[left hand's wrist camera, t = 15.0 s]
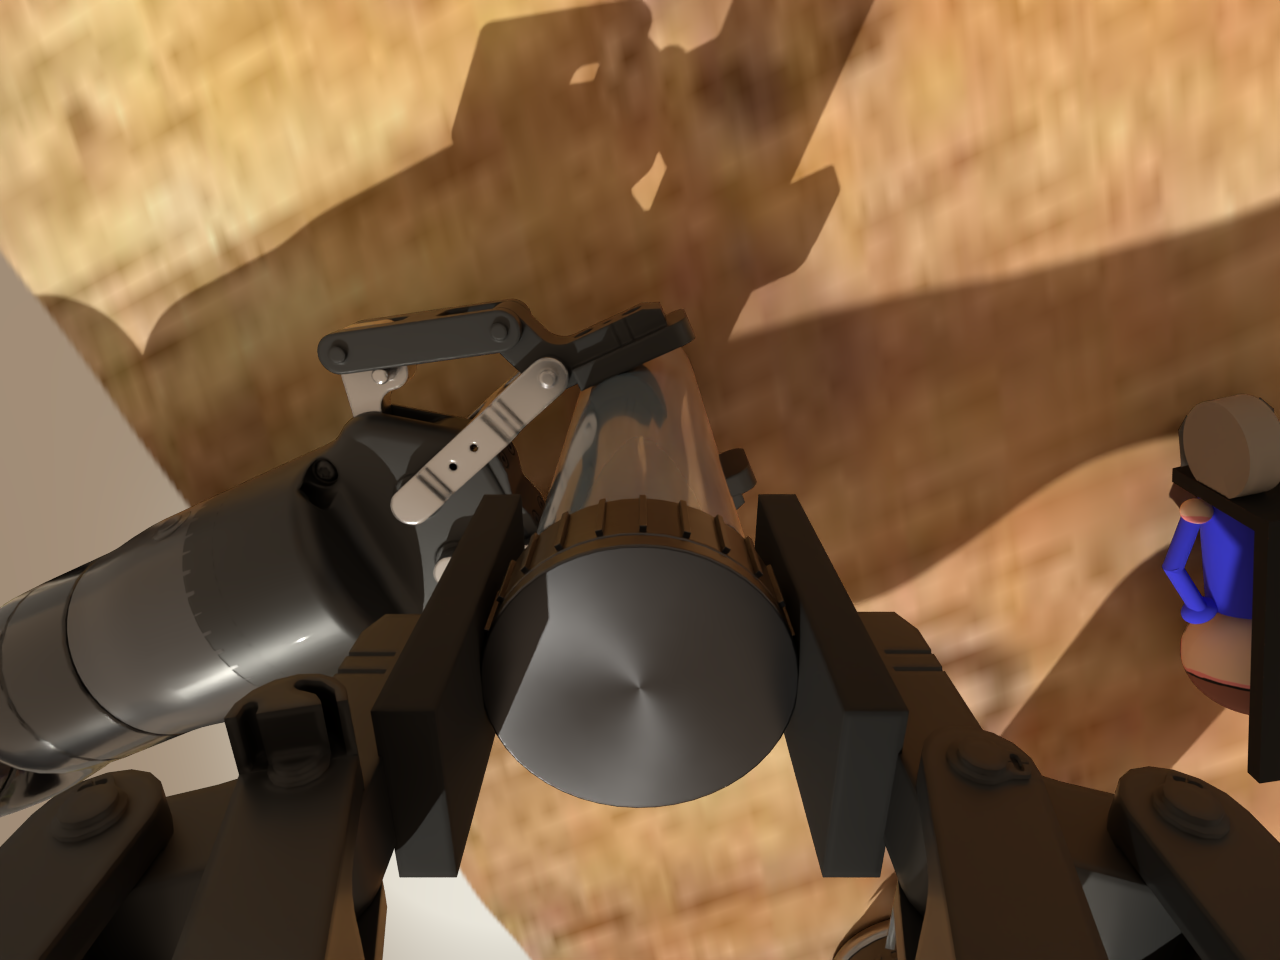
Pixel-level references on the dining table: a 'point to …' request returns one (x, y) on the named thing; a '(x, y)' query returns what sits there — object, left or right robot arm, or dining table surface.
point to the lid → (639, 655)
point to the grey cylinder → (641, 445)
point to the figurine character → (1233, 565)
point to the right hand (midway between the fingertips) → (718, 398)
